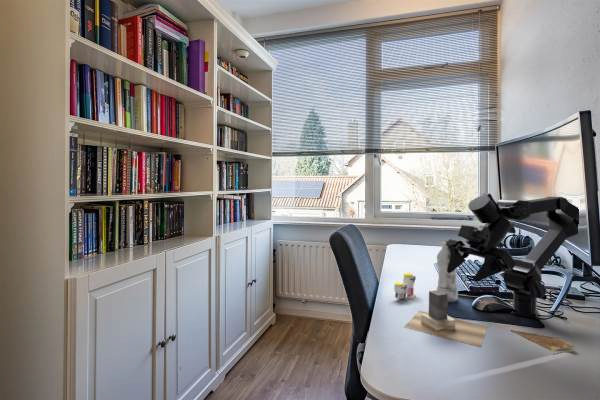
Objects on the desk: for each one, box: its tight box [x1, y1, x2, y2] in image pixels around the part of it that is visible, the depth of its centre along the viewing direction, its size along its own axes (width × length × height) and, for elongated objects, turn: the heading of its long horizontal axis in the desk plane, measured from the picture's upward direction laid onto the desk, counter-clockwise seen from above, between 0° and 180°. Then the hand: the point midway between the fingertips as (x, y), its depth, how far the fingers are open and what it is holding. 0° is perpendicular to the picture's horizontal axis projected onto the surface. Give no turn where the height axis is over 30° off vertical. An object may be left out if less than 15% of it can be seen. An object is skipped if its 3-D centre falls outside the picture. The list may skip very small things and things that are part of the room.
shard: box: [510, 329, 575, 355], centre depth 78 cm, size 11×8×2 cm
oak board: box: [403, 310, 489, 348], centre depth 85 cm, size 14×18×1 cm
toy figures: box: [393, 272, 417, 301], centre depth 109 cm, size 12×4×8 cm, turn 134°
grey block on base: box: [421, 289, 456, 332], centre depth 86 cm, size 6×6×9 cm
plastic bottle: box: [436, 240, 459, 303], centre depth 106 cm, size 6×7×20 cm
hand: (460, 276), depth 88 cm, fingers open, 9 cm apart
